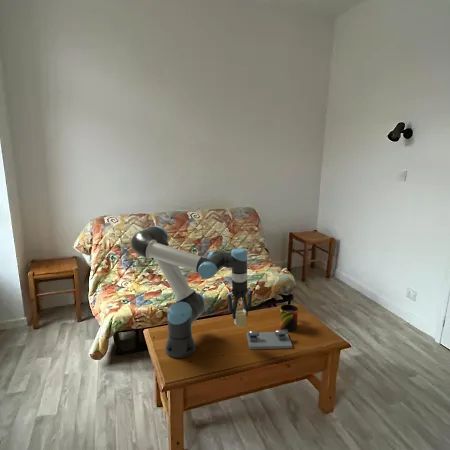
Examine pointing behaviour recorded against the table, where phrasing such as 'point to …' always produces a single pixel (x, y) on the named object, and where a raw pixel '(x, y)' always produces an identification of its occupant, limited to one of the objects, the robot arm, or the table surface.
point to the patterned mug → (288, 317)
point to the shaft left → (253, 335)
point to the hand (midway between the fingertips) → (240, 323)
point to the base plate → (269, 341)
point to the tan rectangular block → (241, 318)
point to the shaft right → (281, 334)
